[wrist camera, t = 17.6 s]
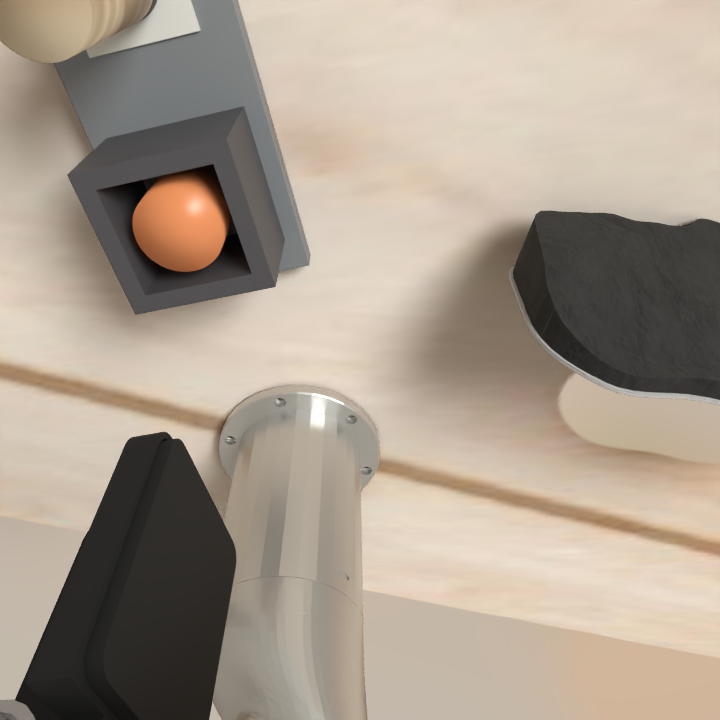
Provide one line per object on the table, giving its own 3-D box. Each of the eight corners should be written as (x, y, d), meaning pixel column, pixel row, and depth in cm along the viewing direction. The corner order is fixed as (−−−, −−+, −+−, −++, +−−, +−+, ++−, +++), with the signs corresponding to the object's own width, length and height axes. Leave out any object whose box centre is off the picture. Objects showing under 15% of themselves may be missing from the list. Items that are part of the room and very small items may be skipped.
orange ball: (248, 224, 38) (235, 262, 34) (174, 239, 38) (153, 279, 34) (222, 147, 35) (205, 178, 31) (143, 165, 36) (117, 198, 32)
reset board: (310, 254, 41) (303, 314, 35) (164, 284, 42) (133, 347, 36) (194, -151, 30) (153, -166, 23) (-4, -95, 31) (-92, -96, 24)
